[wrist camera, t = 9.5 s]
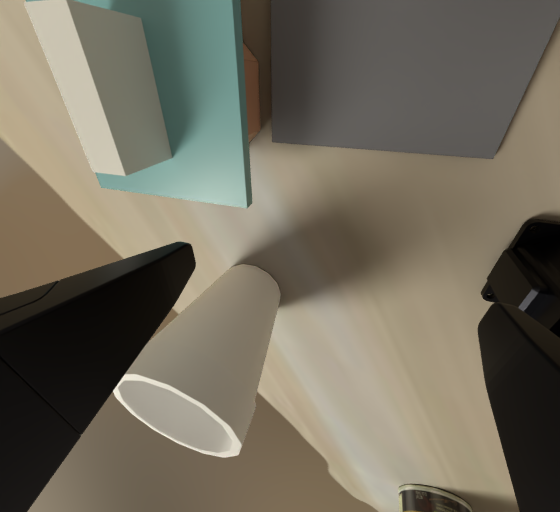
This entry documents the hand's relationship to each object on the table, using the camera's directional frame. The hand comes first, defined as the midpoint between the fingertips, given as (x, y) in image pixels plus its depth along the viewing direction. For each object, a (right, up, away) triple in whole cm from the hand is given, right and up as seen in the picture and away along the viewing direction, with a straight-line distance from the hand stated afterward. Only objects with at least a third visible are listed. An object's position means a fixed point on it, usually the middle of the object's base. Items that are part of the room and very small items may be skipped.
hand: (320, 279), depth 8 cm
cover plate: (-8, +10, +6) cm, 14 cm away
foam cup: (-4, -3, +19) cm, 20 cm away
